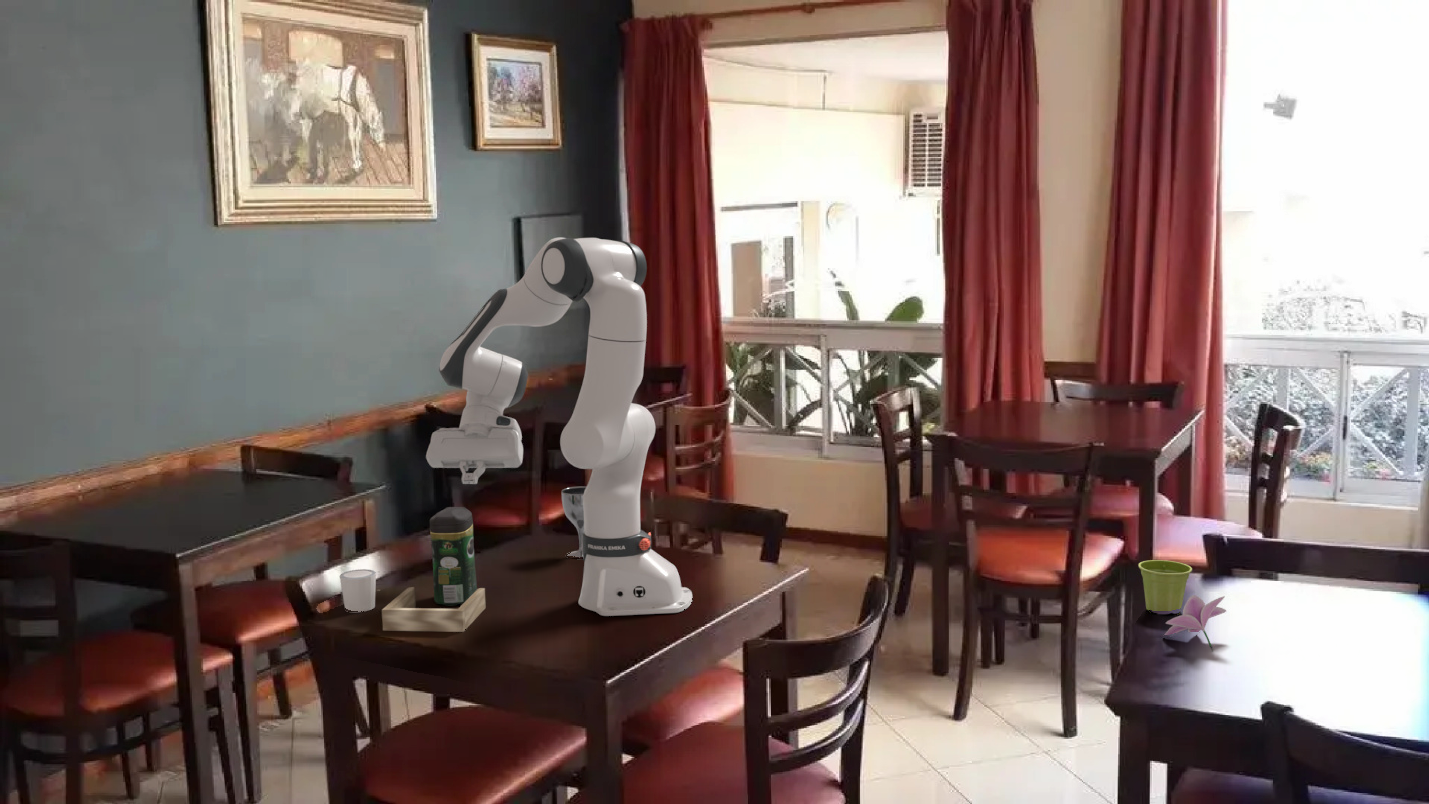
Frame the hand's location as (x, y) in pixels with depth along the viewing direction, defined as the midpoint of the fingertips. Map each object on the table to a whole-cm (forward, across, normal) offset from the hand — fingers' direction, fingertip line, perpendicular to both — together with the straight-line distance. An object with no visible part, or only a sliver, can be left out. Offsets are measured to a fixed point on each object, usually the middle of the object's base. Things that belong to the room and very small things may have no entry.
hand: (469, 482), depth 255 cm
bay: (+32, 0, -2) cm, 32 cm away
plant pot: (+25, +137, +6) cm, 140 cm away
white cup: (+28, -18, +2) cm, 33 cm away
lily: (+38, +138, -7) cm, 144 cm away
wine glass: (0, +18, +30) cm, 36 cm away
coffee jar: (+24, 0, +6) cm, 25 cm away
